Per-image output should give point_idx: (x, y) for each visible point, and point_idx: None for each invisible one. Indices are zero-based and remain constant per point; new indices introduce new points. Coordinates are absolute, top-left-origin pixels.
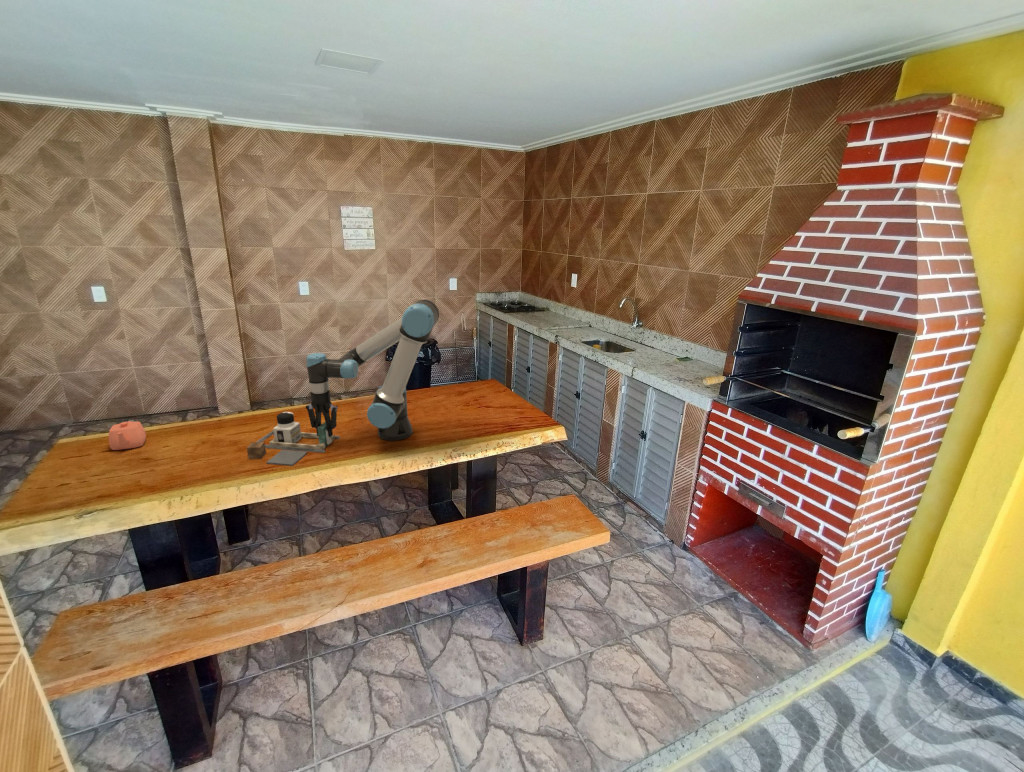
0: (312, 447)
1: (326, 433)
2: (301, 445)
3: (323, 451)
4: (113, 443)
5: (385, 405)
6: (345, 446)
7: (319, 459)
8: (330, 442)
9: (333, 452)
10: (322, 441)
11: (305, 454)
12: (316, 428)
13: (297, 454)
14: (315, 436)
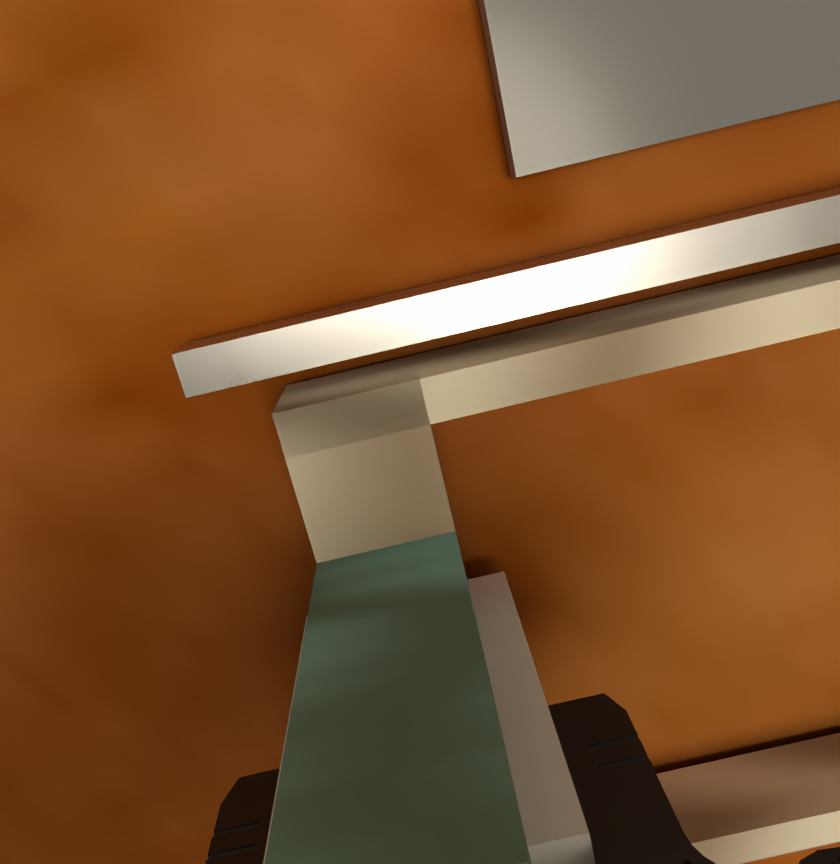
0: (504, 347)
1: None
2: (789, 286)
3: (195, 345)
4: None
5: None
6: (29, 717)
7: (23, 22)
8: None
9: (26, 432)
10: (368, 573)
11: (494, 86)
12: (663, 859)
13: None
14: (801, 772)
